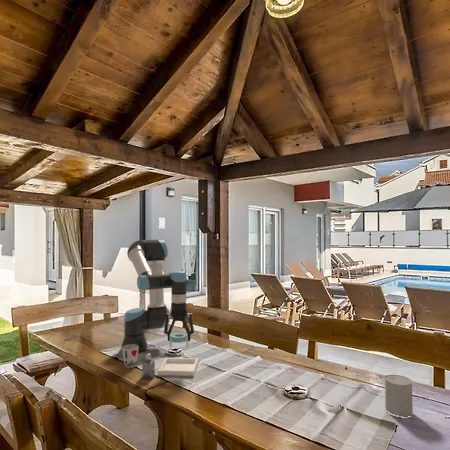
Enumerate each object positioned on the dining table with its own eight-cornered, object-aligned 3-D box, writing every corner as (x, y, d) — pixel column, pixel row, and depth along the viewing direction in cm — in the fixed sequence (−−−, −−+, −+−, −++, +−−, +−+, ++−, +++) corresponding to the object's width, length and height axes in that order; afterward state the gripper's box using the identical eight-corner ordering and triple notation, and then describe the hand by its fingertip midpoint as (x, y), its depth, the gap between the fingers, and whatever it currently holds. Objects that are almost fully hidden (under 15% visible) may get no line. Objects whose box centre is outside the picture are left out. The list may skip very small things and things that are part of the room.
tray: (165, 362, 187) (165, 357, 188) (198, 363, 187) (198, 358, 187) (157, 376, 170) (157, 370, 170) (193, 376, 169) (193, 371, 169)
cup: (122, 369, 178) (122, 350, 178) (122, 364, 186) (122, 345, 186) (138, 368, 180) (138, 348, 180) (138, 362, 188) (138, 343, 188)
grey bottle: (143, 374, 172) (143, 351, 172) (156, 374, 172) (156, 351, 172) (140, 379, 166) (140, 355, 166) (152, 379, 166) (152, 356, 166)
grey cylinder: (404, 405, 140) (403, 374, 141) (418, 418, 131) (417, 384, 131) (380, 406, 140) (380, 374, 140) (392, 418, 130) (392, 385, 131)
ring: (189, 340, 178) (189, 335, 178) (177, 343, 173) (177, 338, 173) (179, 336, 185) (179, 331, 185) (166, 339, 180) (166, 334, 180)
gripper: (157, 303, 176) (157, 349, 175) (198, 303, 175) (198, 350, 174) (160, 300, 183) (160, 345, 183) (200, 300, 182) (200, 345, 182)
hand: (179, 347), depth 178 cm, fingers closed on ring, 8 cm apart
